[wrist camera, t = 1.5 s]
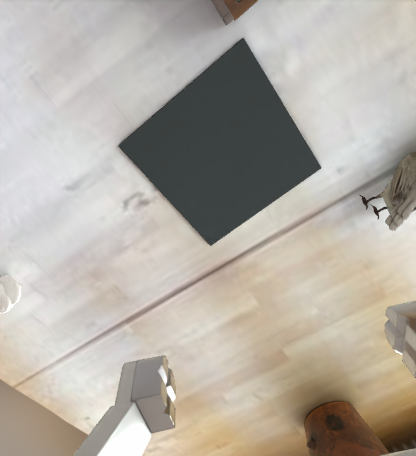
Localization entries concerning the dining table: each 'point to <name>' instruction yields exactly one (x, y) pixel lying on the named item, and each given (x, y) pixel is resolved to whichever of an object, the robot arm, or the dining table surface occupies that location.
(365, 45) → the dining table surface
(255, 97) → the slate mat
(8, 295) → the dumpling
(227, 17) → the wooden box
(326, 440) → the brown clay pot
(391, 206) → the decorative bird
